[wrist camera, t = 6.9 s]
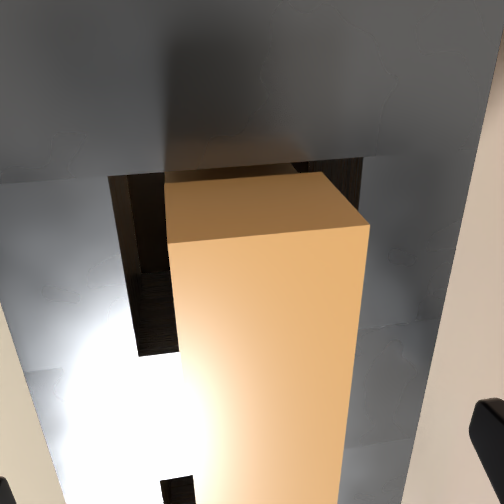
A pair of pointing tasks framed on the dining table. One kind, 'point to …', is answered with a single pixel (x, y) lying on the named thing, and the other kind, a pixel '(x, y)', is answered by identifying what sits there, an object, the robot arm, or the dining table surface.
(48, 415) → the grey slotted plate
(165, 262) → the dining table surface
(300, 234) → the long orange beam
